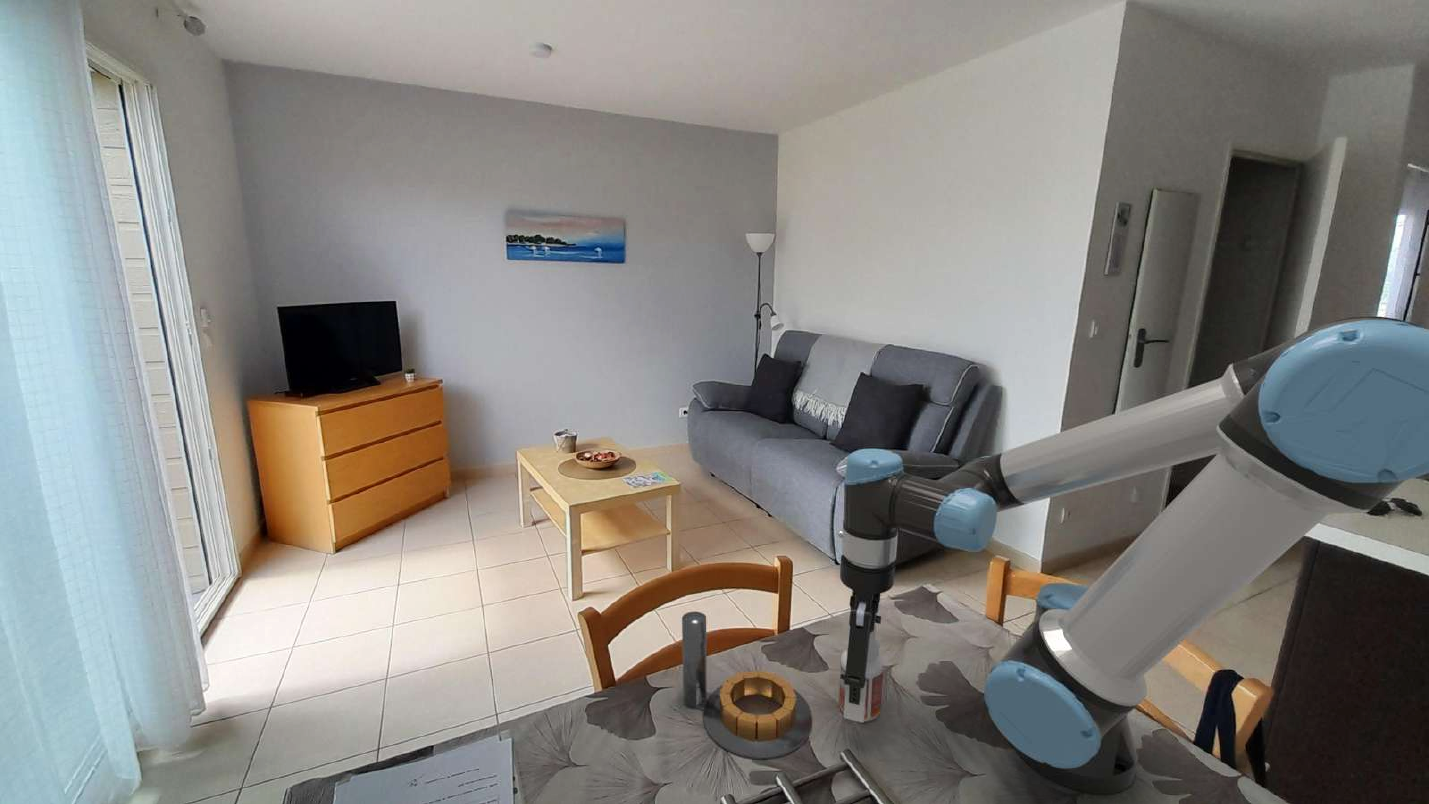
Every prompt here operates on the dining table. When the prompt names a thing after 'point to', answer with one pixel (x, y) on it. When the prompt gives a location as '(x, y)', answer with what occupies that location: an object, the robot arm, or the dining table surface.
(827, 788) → the dining table surface
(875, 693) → the pill bottle
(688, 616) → the round base with peg
